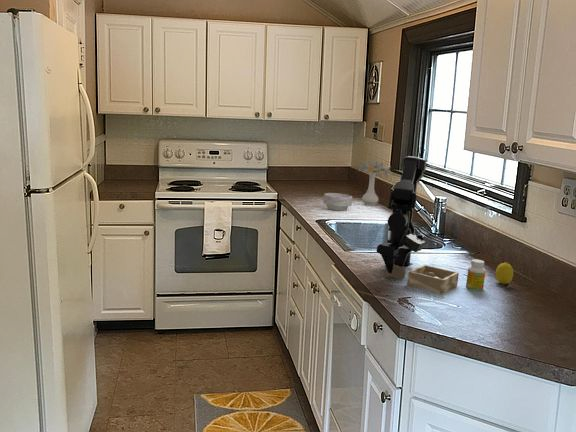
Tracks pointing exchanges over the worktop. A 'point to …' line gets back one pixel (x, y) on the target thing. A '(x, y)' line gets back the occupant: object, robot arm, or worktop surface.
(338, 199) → the paper bowls
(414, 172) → the robot arm
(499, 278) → the lemon
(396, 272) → the lid
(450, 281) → the box
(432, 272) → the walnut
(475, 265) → the supplement bottle
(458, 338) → the worktop surface
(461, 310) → the worktop surface
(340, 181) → the worktop surface
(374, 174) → the flower vase
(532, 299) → the worktop surface
